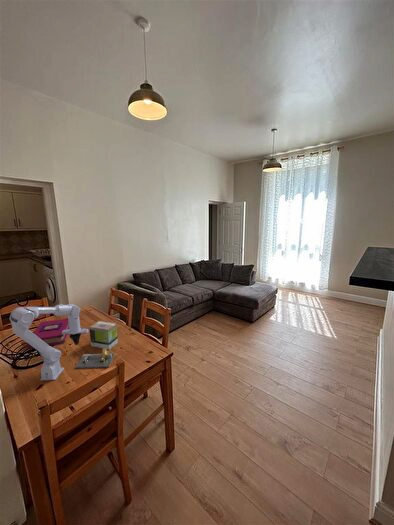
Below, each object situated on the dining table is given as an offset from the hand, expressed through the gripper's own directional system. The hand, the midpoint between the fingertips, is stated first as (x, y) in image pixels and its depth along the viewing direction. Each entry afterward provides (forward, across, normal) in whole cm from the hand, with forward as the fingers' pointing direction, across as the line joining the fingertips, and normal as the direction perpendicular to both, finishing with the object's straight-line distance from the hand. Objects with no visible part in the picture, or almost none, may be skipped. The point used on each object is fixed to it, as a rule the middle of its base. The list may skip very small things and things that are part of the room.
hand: (76, 343), depth 133 cm
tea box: (+11, -11, -16) cm, 22 cm away
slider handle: (+9, -16, +2) cm, 19 cm away
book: (+11, +32, -29) cm, 44 cm away
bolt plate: (+10, -12, +4) cm, 16 cm away
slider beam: (+9, -12, +3) cm, 15 cm away
